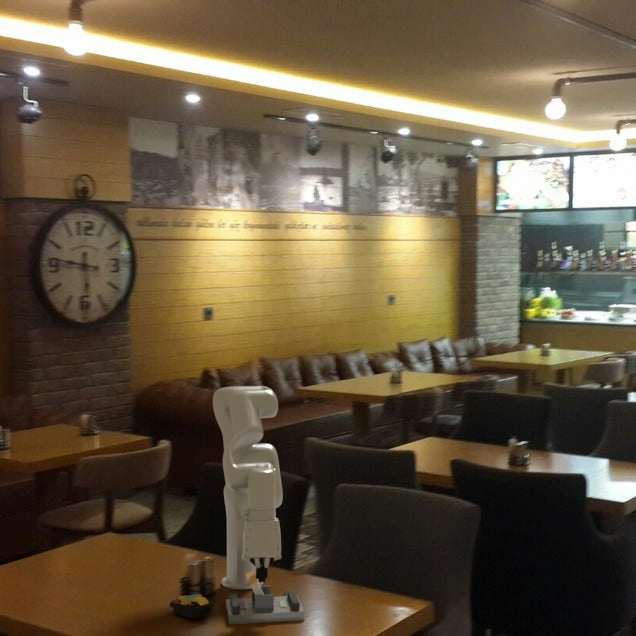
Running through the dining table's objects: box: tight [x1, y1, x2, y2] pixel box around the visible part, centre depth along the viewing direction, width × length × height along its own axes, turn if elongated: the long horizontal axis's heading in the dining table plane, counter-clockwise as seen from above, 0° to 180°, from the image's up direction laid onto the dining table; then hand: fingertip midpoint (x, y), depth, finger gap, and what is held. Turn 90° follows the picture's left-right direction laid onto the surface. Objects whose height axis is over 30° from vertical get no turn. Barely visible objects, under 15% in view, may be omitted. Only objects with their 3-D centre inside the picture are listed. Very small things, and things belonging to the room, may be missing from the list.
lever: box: [246, 571, 264, 595], centre depth 260 cm, size 6×2×9 cm, turn 10°
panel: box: [225, 585, 305, 625], centre depth 260 cm, size 13×20×6 cm, turn 100°
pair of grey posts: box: [227, 589, 300, 613], centre depth 264 cm, size 18×18×4 cm
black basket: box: [169, 593, 215, 620], centre depth 258 cm, size 6×13×6 cm, turn 46°
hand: (261, 581), depth 260 cm, fingers closed
